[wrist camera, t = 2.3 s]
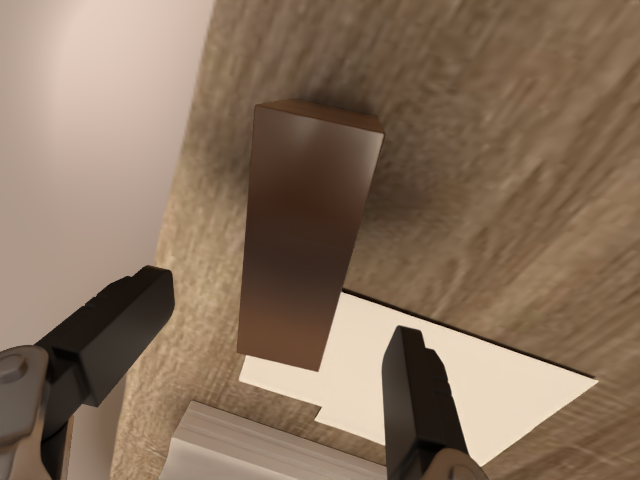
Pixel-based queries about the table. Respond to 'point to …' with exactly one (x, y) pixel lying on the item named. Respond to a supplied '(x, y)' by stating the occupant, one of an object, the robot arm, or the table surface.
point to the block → (253, 452)
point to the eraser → (302, 225)
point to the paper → (461, 367)
